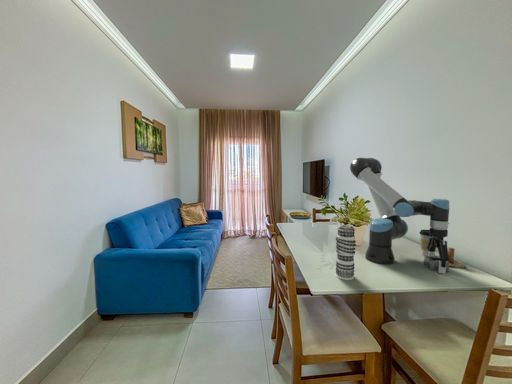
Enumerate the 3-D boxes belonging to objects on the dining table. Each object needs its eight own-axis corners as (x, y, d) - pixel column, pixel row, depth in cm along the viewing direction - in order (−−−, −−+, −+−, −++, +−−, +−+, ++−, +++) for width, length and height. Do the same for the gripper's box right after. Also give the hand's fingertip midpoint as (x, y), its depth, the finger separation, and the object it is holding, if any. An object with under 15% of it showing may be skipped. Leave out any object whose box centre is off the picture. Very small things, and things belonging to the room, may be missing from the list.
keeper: (443, 266, 125) (444, 250, 124) (435, 259, 135) (436, 244, 134) (465, 268, 122) (467, 252, 121) (456, 261, 132) (457, 246, 131)
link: (430, 270, 120) (430, 260, 120) (424, 264, 128) (424, 255, 127) (448, 272, 118) (449, 262, 117) (441, 266, 125) (441, 257, 125)
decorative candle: (331, 276, 113) (332, 226, 111) (339, 270, 120) (341, 223, 118) (349, 282, 107) (351, 229, 105) (357, 276, 113) (359, 226, 111)
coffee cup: (441, 258, 137) (443, 233, 136) (422, 257, 139) (424, 232, 138) (432, 252, 146) (433, 229, 145) (415, 251, 148) (416, 228, 147)
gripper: (460, 234, 108) (456, 278, 110) (436, 223, 132) (434, 260, 133) (440, 233, 110) (438, 276, 112) (421, 223, 134) (419, 258, 136)
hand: (436, 267), depth 123 cm, fingers open, 12 cm apart
